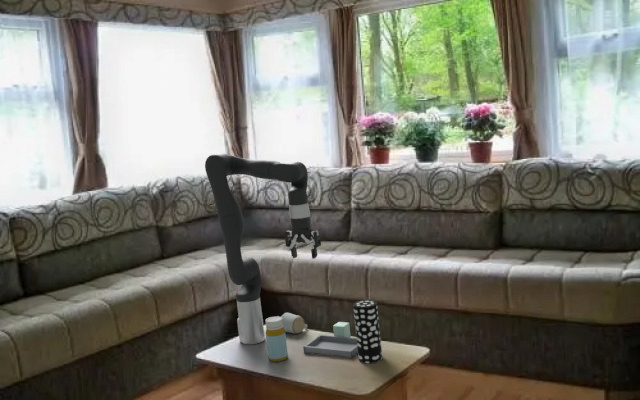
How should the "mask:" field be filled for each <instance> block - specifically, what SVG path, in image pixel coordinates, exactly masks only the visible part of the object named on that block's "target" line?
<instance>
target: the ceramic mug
mask: <svg viewBox="0 0 640 400" xmlns="http://www.w3.org/2000/svg"><path fill="white" fill-rule="evenodd" d="M280 317H282V320H283V327H284V329H285V333H289V334H295V335H299V334H301V333H302V332H303V331H304V329H308V324H307V323H306V322H305V320H304V318H303V317H302V316H301V315H298V314H297V315H296V314H293V313H291V312H284V313H283V314H282V315H281V316H280Z"/></svg>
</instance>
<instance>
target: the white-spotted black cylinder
mask: <svg viewBox="0 0 640 400" xmlns="http://www.w3.org/2000/svg"><path fill="white" fill-rule="evenodd" d="M352 307H353V317H354V324H355V325H354V327H355V335H356V337H355V338H357V348H358V353H357V355H358V357H357V358H358V361H359V362H361V363H362V364H375V363H377V362H378V363H379V362H380V361H382V359H383V350H382V341H381V340H382V339H381V330H380V320H379V309H378V301H376V300H374V299H373V300H372V299H364V300H363V299H362V300H361V299H360V300H358V301H355V302H354V303H353V304H352Z"/></svg>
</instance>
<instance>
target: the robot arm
mask: <svg viewBox="0 0 640 400" xmlns="http://www.w3.org/2000/svg"><path fill="white" fill-rule="evenodd" d="M204 163H205V164H204V170H205V173H206V176H207V179H208V183H209V184H210V188H211V192H212V195H213V199H214V204H215V207H216V212H217V218H218V222H219V226H220V231H221V235H222V239H223V244H224V250H225V257H226V264H227V265H226V266H227V270H228V271H227V272H228V276H229V278H230V281H232V283H233V284H235V285H237V286H241V287H239V289H238V291H236V293H235V299H236V305H237V313H238V315H237V316H238V318H237V320H236V322H237V331H238V339H239V342H240V343H242V344H243V345H257V344H260V343H262V342H264V341H266V340H265V339H266V334H265V329H264V327H265V326H264V319H263V311H262V305H261V295H260V294H261V289H262V288H261V287H262V286H261V273H260V272H261V271H260V266H259V264H258V262H257V260H256V259H255V258H253V257H251V256H250V257H244V258H243V256H242V249H241V247H242V246H241V245H242V239H243V236H244V235H243V234H244V230H245V220H244V216H243V213H242V208H241V206H240V205H239V203H238V201H237V199H236V197H235V196H234V195H233V193H232V191H231V187H230V186H229V185H230V184H229V181H228V176H235V175H246V176H250V177H253V178H257V179H261V180H262V179H263V180H276V181H279V182H283V183H290V188H289V190H288V194H287V195H288V204H289V205H288V206H289V210H288V211H289V219H290V228H291V230H286V231H285V232H284V240H285V243H284V244H285V247H287V248H289V249H290V253H291V257H292V258H293V259H295V258H298V251H297V245H298V243H299V244H300V243H302V244H305V243H306V244H307V245H308V246H309V247H310V251H311V258H312V259H316V258H317V257H318V248H319V247H321V246H322V241H321V236H320V231H319V230H315V231H314V230H312V220H311V213H310V206H309V199H308V193H307V190H308V183H309V182H308V181H309V178H308V177H309V175H308V174H309V173H308V169H307V166H306V164H304V163H303V162H300V161H297V162H292V163H284V162H283V163H281V162H280V161H277V160H266V159H265V160H264V159H251V158H243V157H238V156H235V155H232V154H228V153H225V152H224V153H221V152H220V153H214V154H210V155H208V157H206V160H205V162H204ZM292 237H293V238H292Z"/></svg>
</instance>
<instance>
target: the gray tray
mask: <svg viewBox="0 0 640 400" xmlns="http://www.w3.org/2000/svg"><path fill="white" fill-rule="evenodd" d="M302 348H303V353H304V354H308V355H309V354H310V355H318V356H327V357H337V358H346V359H352V358H354V357H355V356H356V355H358V348H357V338H356V337H340V336H334V335H327V334H318V335H317V336H316V337H315V338H313V339H312V340H310V341H309V342H307V343H306V344H305V345H303V346H302Z"/></svg>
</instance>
